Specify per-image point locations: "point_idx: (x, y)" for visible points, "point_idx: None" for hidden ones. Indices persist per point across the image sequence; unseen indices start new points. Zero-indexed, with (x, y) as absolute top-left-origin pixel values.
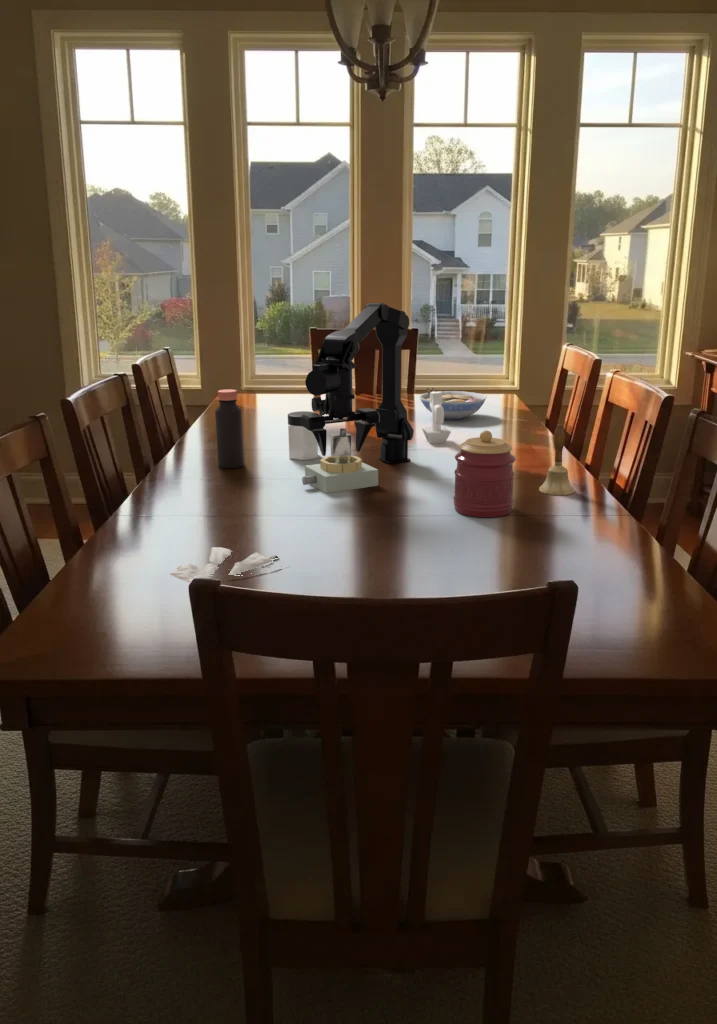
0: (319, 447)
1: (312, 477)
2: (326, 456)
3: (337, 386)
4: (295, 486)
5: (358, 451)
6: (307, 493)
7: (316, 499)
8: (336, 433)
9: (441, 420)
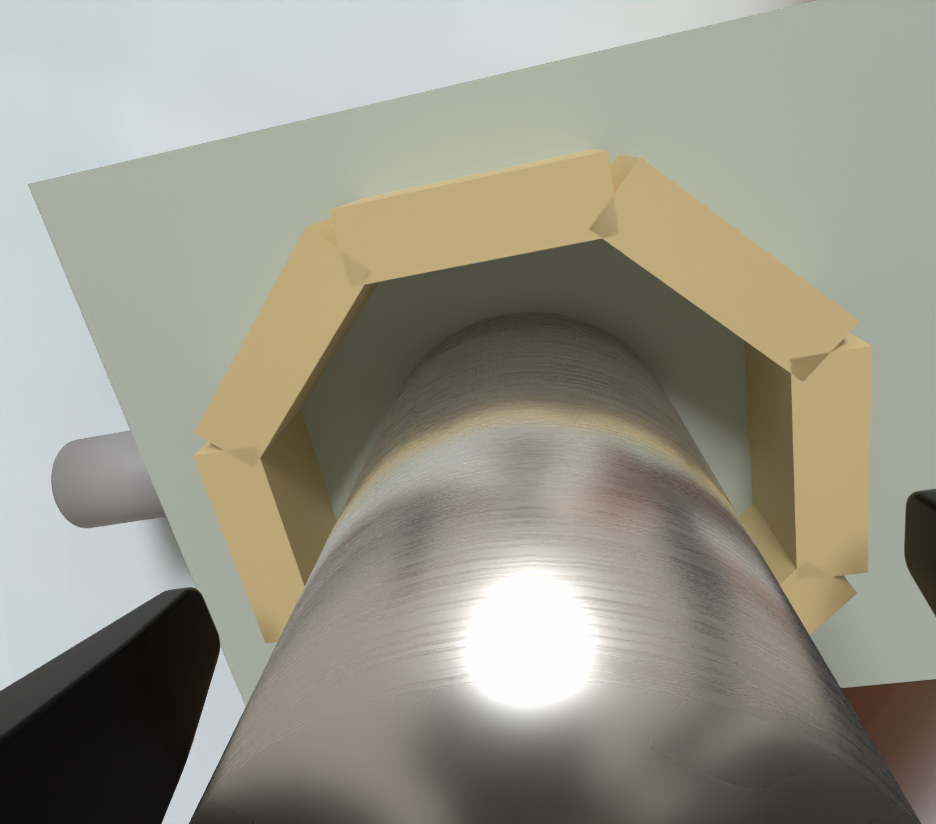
0: (27, 687)
1: (162, 515)
2: (332, 217)
3: None
4: (52, 336)
5: (913, 572)
6: (161, 577)
7: (221, 727)
8: (478, 685)
9: None
